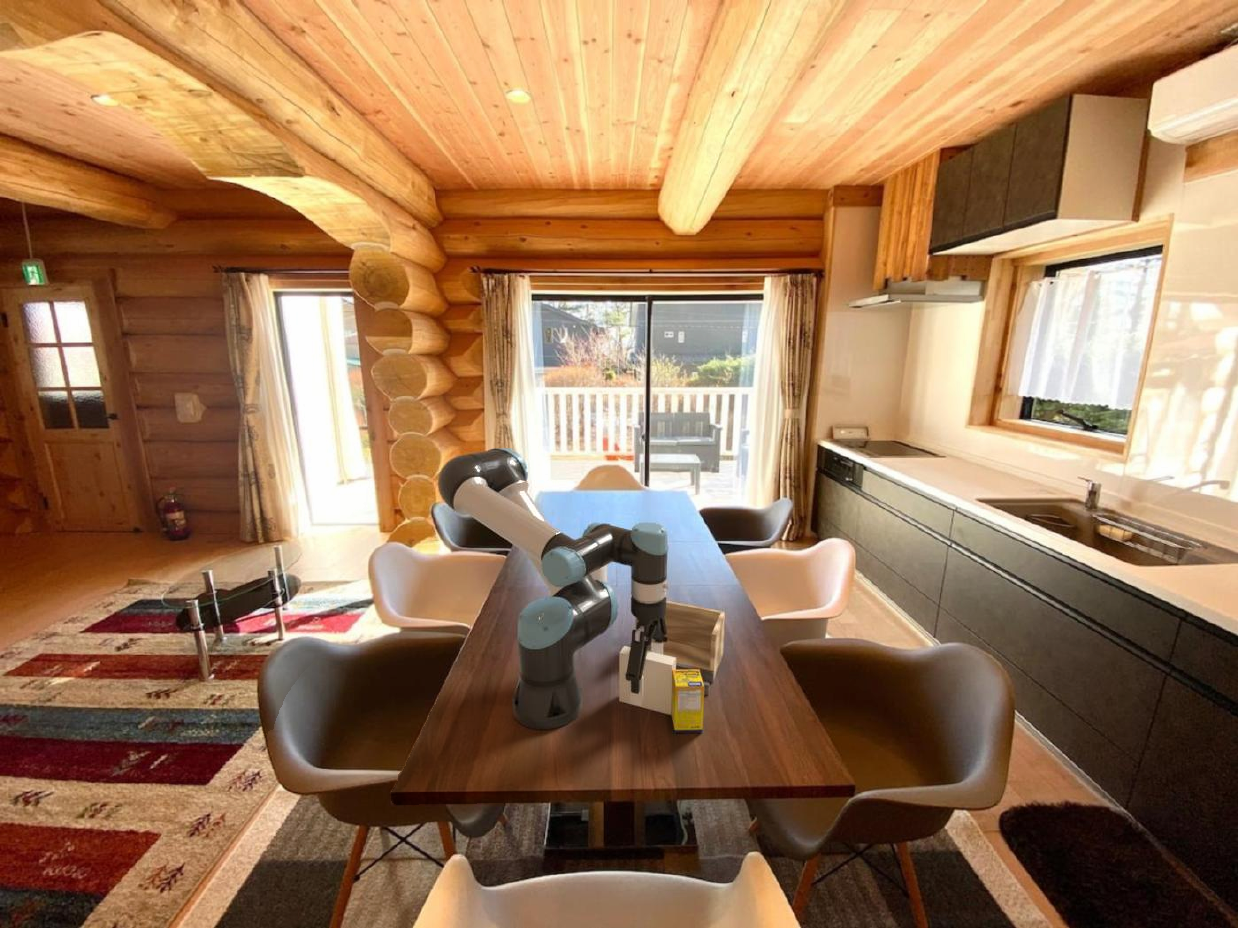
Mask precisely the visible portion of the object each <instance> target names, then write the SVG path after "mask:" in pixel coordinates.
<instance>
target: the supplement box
mask: <svg viewBox="0 0 1238 928" xmlns="http://www.w3.org/2000/svg"><path fill="white" fill-rule="evenodd" d="M703 682H704V681H703V680H702V677H701V673H700V670H699V669H689V670H688V669H687V670H672V700H671V715H670V716H671V721H672V725H673V726H672V727H673V730H674V731H673V732H674V734H683V733H684V734H685V733H686V734H689V733H703V731H704V730H703V729H704V728H703V727H704V704H705V703H704V701H705V700H704V699H705V694H704V684H703Z"/></svg>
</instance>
